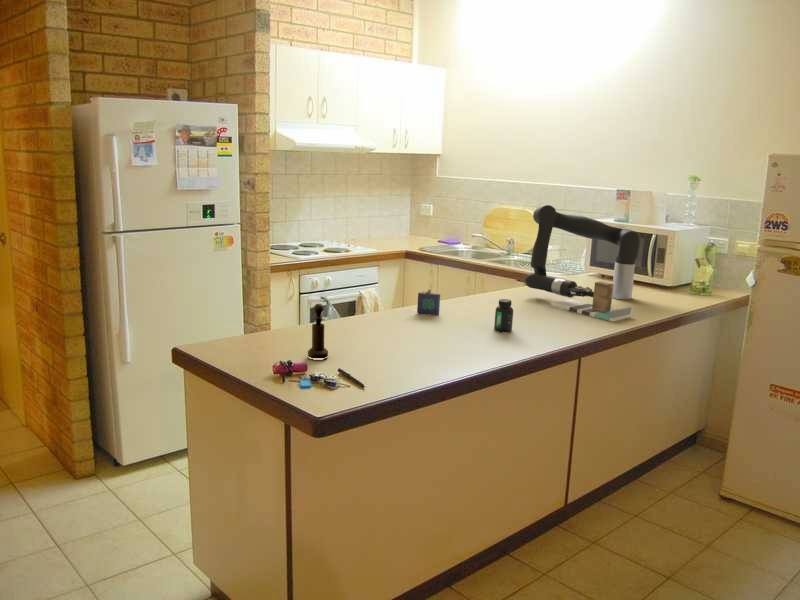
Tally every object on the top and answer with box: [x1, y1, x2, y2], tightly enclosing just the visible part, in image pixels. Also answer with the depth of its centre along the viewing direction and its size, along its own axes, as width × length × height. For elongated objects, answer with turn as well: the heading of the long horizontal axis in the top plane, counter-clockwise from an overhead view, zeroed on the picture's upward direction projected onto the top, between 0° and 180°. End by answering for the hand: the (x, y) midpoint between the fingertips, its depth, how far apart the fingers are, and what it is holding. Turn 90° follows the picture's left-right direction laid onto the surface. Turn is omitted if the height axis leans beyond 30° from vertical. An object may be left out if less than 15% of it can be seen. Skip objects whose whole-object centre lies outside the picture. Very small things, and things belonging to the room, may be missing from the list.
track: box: [550, 299, 632, 322], centre depth 304 cm, size 14×32×4 cm, turn 41°
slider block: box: [592, 280, 614, 312], centre depth 298 cm, size 5×6×12 cm
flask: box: [416, 288, 441, 316], centre depth 285 cm, size 9×3×11 cm, turn 87°
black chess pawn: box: [307, 303, 329, 358], centre depth 221 cm, size 7×6×18 cm
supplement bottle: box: [493, 298, 514, 333], centre depth 265 cm, size 7×7×12 cm
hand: (596, 295), depth 300 cm, fingers closed
